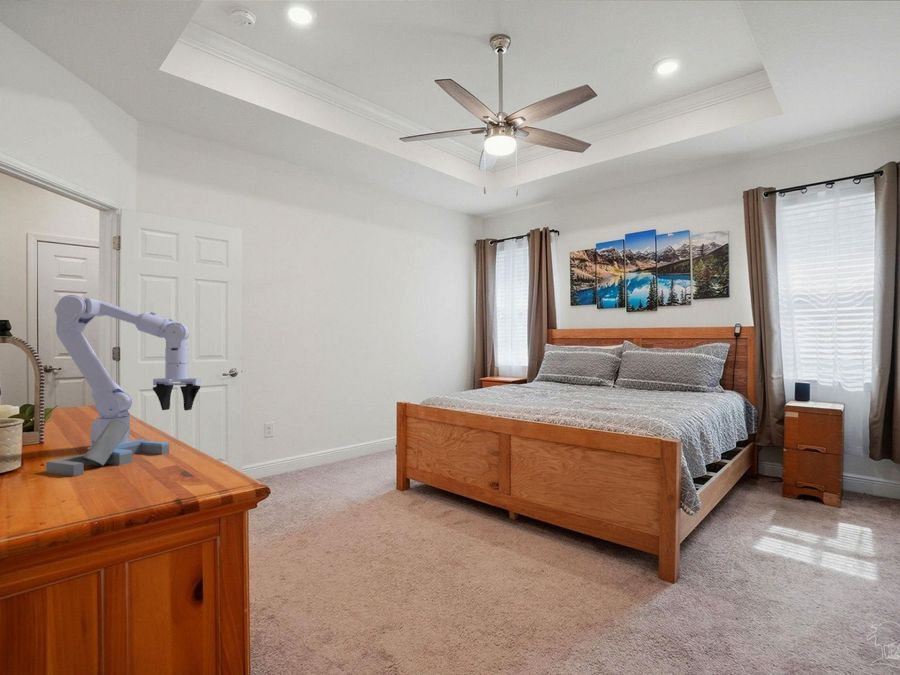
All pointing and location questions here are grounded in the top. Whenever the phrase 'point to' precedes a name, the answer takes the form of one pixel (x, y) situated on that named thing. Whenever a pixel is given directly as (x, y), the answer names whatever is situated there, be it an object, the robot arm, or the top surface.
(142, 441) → the blue u-shaped bracket
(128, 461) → the grey flat angled piece
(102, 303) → the robot arm
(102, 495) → the top surface
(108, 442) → the grey cylinder
